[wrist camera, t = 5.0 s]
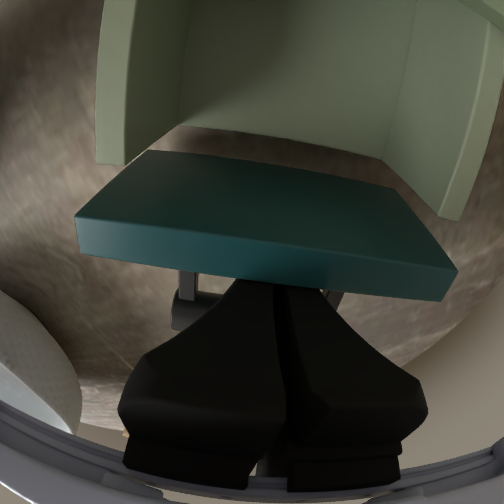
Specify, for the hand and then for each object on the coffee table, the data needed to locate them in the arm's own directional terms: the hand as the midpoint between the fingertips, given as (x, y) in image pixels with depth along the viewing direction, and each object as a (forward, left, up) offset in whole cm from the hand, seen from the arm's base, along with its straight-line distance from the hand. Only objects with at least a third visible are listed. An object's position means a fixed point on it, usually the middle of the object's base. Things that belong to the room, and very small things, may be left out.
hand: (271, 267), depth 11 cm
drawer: (+5, +3, -3) cm, 6 cm away
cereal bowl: (-21, +10, -4) cm, 24 cm away
